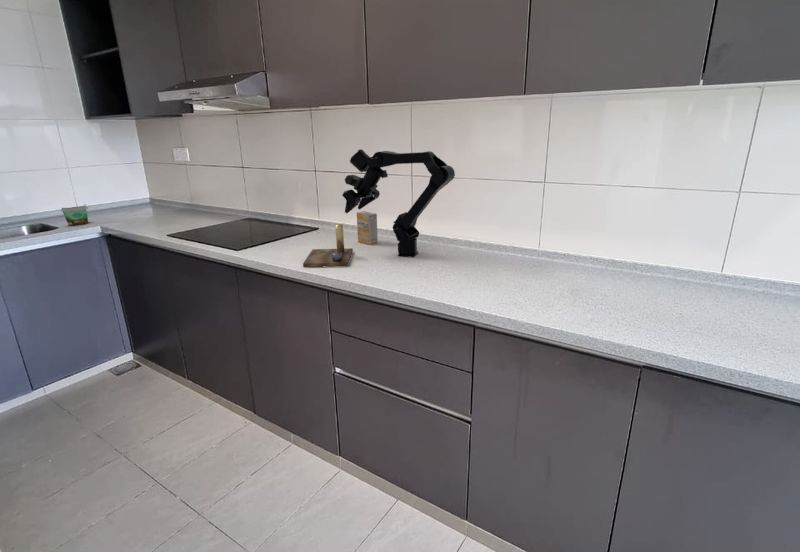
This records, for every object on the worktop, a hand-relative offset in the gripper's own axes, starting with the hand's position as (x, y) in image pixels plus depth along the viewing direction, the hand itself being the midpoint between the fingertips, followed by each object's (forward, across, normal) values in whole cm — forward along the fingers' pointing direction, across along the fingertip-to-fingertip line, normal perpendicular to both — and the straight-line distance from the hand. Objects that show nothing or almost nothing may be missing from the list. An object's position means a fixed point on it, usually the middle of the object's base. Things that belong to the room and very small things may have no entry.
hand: (352, 210), depth 176 cm
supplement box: (+12, -9, +10) cm, 18 cm away
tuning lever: (+8, +16, +11) cm, 22 cm away
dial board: (+12, +18, +10) cm, 24 cm away
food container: (+112, +20, -125) cm, 169 cm away
